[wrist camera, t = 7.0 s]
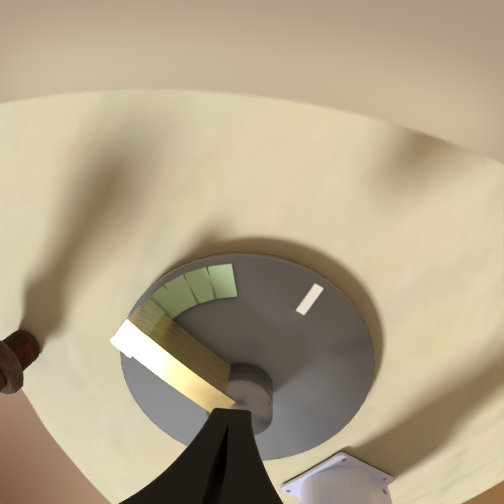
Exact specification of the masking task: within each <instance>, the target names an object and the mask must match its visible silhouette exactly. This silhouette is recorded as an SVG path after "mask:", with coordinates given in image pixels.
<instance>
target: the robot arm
mask: <svg viewBox="0 0 504 504" xmlns="http://www.w3.org/2000/svg"><path fill="white" fill-rule="evenodd" d="M251 416H252V412H250V411H249V410H240V409H227V408H214V409H213V410H212V412H211V414H210V415H209V417H208V419H207V420H206V422H205V424H204V425H203V427H202V428H201V430H200V431H199V432H198V434H197V435H196V436H195V438H194V439H193V440H192V442H191V443H190V444H189V446H188V447H187V448H186V449H185V450H184V451H183V452H182V454H181V455H180V456H179V457H178V458H177V459H176V460H175V461H174V462H173V463H172V464H171V465H170V466H169V467H168V468H167V469H166V470H165V471H164V472H163V473H162V474H161V475H159V476H158V477H157V478H156V479H155V480H153V481H152V482H151V483H150V484H148V485H147V486H146V487H144V488H143V489H142V490H140V491H139V492H137V493H136V494H134V495H132V496H131V497H129V498H127V499H126V500H124V501H122V502H121V503H119V504H283V502H282V501H281V499H280V497H279V495H278V494H277V492H276V490H275V488H274V486H273V485H272V483H271V481H270V479H269V476H268V474H267V472H266V470H265V467H264V465H263V462H262V460H261V457H260V454H259V451H258V448H257V445H256V441H255V437H254V433H253V428H252V419H251ZM393 480H394V478H393V476H390V475H388V474H386V473H384V472H382V471H380V470H378V469H376V468H374V467H372V466H370V465H368V464H366V463H364V462H362V461H360V460H358V459H356V458H354V457H352V456H350V455H348V454H346V453H344V452H340V453H338V454H336V455H334V456H333V457H331V458H329V459H328V460H326V461H325V462H323V463H321V464H319V465H318V466H316V467H314V468H313V469H311V470H309V471H307V472H306V473H304V474H302V475H300V476H298V477H296V478H295V479H293V480H291V481H289V482H287V483H285V484H283V485H281V486H280V490H281V491H282V492H285V493H287V494H290V495H292V496H295V497H297V498H299V504H392V500H391V496H390V493H389V490H388V486H387V485H388V484H389V483H391V482H392V481H393Z"/></svg>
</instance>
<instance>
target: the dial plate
mask: <svg viewBox="0 0 504 504" xmlns="http://www.w3.org/2000/svg"><path fill="white" fill-rule="evenodd" d="M147 298H149V299H150V300H151V301H153V302H154V303H155V304H156V305H157V306H158V307H160V308H161V309H162V310H163V311H164V312H165V314H166V315H167V316H168V317H169V318H171V319H172V320H173V321H174V322H175V323H177V324H178V325H179V326H180V327H181V328H183V329H184V330H185V331H186V332H188V333H189V334H190V335H191V336H193V337H194V338H195V339H196V340H198V341H199V342H200V343H202V344H203V345H204V346H205V347H207V348H208V349H209V350H211V351H212V352H213V353H214V354H216V355H217V356H218V357H220V358H221V359H222V360H224V361H225V362H226V363H228V364H229V365H231V364H235V363H248V364H252V365H255V366H258V367H260V368H261V369H263V370H264V371H265V372H267V374H268V375H269V376H270V377H271V379H272V382H273V419H272V422H271V424H270V426H269V427H268V428H267V429H266V430H265V431H263V432H262V433H260V434H257V435H254V437H255V441H256V445H257V448H258V451H259V454H260V457H261V460H262V461H266V460H274V459H280V458H285V457H289V456H293V455H296V454H299V453H302V452H305V451H307V450H310V449H312V448H314V447H316V446H318V445H320V444H322V443H324V442H325V441H327V440H329V439H330V438H331V437H333V436H334V435H335V434H337V433H338V432H339V431H341V430H342V429H343V428H344V427H345V426H346V425H347V424H348V423H349V422H350V421H351V420H352V418H353V417H354V416H355V415H356V413H357V412H358V411H359V409H360V407H361V406H362V404H363V402H364V401H365V399H366V396H367V394H368V391H369V389H370V386H371V382H372V378H373V370H374V355H373V347H372V343H371V339H370V335H369V332H368V330H367V328H366V326H365V324H364V321H363V319H362V318H361V316H360V314H359V313H358V311H357V310H356V308H355V307H354V305H353V304H352V302H351V301H350V300H349V299H348V297H347V296H346V295H345V294H344V293H343V292H342V291H341V290H340V289H339V288H338V287H337V286H335V285H334V284H333V283H332V282H330V281H329V280H328V279H327V278H326V277H324V276H322V275H320V274H319V273H317V272H315V271H314V270H312V269H310V268H308V267H306V266H304V265H301V264H299V263H296V262H294V261H292V260H288V259H284V258H281V257H277V256H274V255H267V254H260V253H248V252H232V253H223V254H215V255H211V256H207V257H202V258H198V259H195V260H193V261H190V262H188V263H185V264H183V265H180V266H179V267H177V268H175V269H173V270H172V271H170V272H168V273H167V274H165V275H164V276H163V277H161V278H160V279H159V280H158V281H156V282H155V283H154V284H153V285H152V286H151V287H150V288H149V289H148V290H147V291H146V292H145V293H144V294H143V295H142V296H141V298H140V299H139V300H138V301H137V302H136V304H135V306H134V307H133V309H132V310H131V312H130V314H129V316H128V318H129V317H130V316H131V315H132V314H133V313H134V311H135V310H136V309H137V308H138V307H139V306H140V305H141V304H142V303H143V302H144V301H145V300H146V299H147ZM128 318H127V319H128ZM120 355H121V365H122V370H123V374H124V378H125V380H126V383H127V385H128V388H129V390H130V392H131V394H132V396H133V398H134V399H135V401H136V403H137V404H138V405H139V407H140V408H141V409H142V411H143V412H144V413H145V414H146V415H147V416H148V418H149V419H150V420H151V421H152V422H153V423H154V424H156V425H157V426H158V427H159V428H160V429H161V430H162V431H164V432H165V433H167V434H168V435H169V436H171V437H172V438H174V439H175V440H177V441H179V442H181V443H183V444H184V445H186V446H189V444H190V443H191V442H192V440H193V439H194V438H195V436H196V435H197V434H198V432H199V431H200V430H201V428H202V427H203V425H204V424H205V422H206V420H207V419H208V418H207V414H206V410H205V409H204V408H202V407H201V406H199V405H198V404H197V403H195V402H194V401H192V400H191V399H189V398H188V397H186V396H185V395H184V394H182V393H181V392H179V391H178V390H177V389H175V388H174V387H173V386H171V385H170V384H168V383H167V382H166V381H164V380H163V379H162V378H160V377H159V376H158V375H157V374H155V373H154V372H153V371H151V370H150V369H149V368H148V367H146V366H145V365H144V364H142V363H141V362H140V361H139V360H138V359H136V358H135V357H134V356H133V355H131V357H128V356H127V355H126V354H125V353H124V352H122V351H121V350H120Z"/></svg>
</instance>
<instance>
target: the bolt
mask: <svg viewBox="0 0 504 504" xmlns="http://www.w3.org/2000/svg"><path fill="white" fill-rule="evenodd" d="M37 351H39V350H38V345H37V343H36V341H35V339H34V338H33V337H32V336H30V335H29V334H28V333H26V332H25V331H22V330H17V331H15V332H14V333H12V334H11V335H10V336H8V337H7V338H6V339H4V340H3V341H0V393H1V392H2V393H5V394H12V393H16V392H17V391H18V390H19V389H20V388H21V387H22V386H23V371H24V370H25V369H26V368H27V367H28V366H29V365H30V364H31V363H32V362H34V361H35V360H36V359H37V358H38V356H39V352H37Z"/></svg>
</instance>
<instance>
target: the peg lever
mask: <svg viewBox="0 0 504 504" xmlns="http://www.w3.org/2000/svg"><path fill="white" fill-rule="evenodd" d="M111 342H112V343H113V344H114V345H115V346H116V347H118V348H119V349H120V350H121V351H122V352H124V353H125V354H126V355H127V356H128V357H131V355H133V356H134V357H135V358H136V359H138V360H139V361H140V362H141V363H142V364H144V365H145V366H146V367H148V368H149V369H150V370H151V371H153V372H154V373H155V374H157V375H158V376H159V377H160V378H162V379H163V380H164V381H166V382H167V383H168V384H170V385H171V386H173V387H174V388H175V389H177V390H178V391H179V392H181V393H182V394H184V395H185V396H186V397H188V398H189V399H191V400H192V401H194V402H195V403H197V404H198V405H199V406H201V407H202V408H204V409H205V410H206V414H207V418H208V417H209V415H210V414H211V412H212V410H213V409H214V408H227V409H240V410H249V411H250V412H252V416H251V419H252V428H253V433H254V435H257V434H260V433H262V432H263V431H265V430H266V429H267V428H268V427H269V426H270V424H271V422H272V419H273V382H272V379H271V377H270V376H269V375H268V374H267V372H265V371H264V370H263V369H261V368H260V367H258V366H255V365H252V364H248V363H235V364H231V365H229V364H228V363H226V362H225V361H224V360H222V359H221V358H220V357H218V356H217V355H216V354H214V353H213V352H212V351H211V350H209V349H208V348H207V347H205V346H204V345H203V344H202V343H200V342H199V341H198V340H196V339H195V338H194V337H193V336H191V335H190V334H189V333H188V332H186V331H185V330H184V329H183V328H181V327H180V326H179V325H178V324H177V323H175V322H174V321H173V320H172V319H171V318H169V317H168V316H167V315H166V314H165V312H164V311H163V310H162V309H161V308H160V307H158V306H157V305H156V304H155V303H154V302H153V301H151V300H150V299H149V298H147V299H146V300H145V301H144V302H143V303H142V304H141V305H140V306H139V307H138V308H137V309H136V310H135V311H134V313H133V314H132V315H131V316H130V317H129V318H128V319H127V320H126V322H125V323H124V324H123V326H122V327H121V328H120V330H119V331H118V332H117V334H116V335H115V336H114V338H113V339H112V340H111Z"/></svg>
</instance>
